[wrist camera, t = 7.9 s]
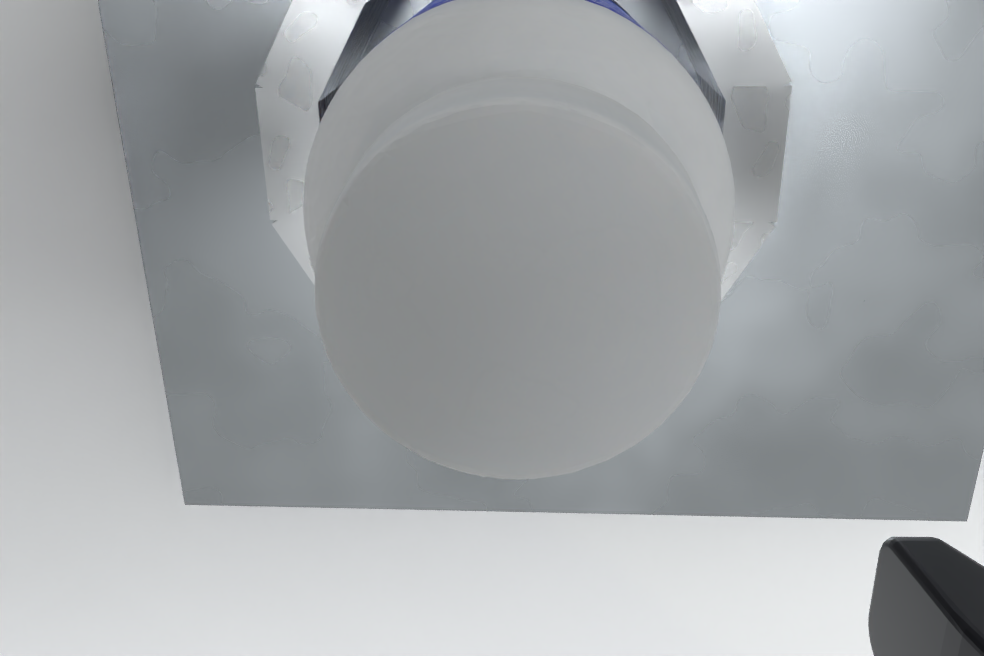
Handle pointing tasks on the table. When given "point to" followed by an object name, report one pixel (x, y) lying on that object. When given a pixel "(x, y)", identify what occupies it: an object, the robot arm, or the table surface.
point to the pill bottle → (518, 234)
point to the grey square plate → (744, 285)
